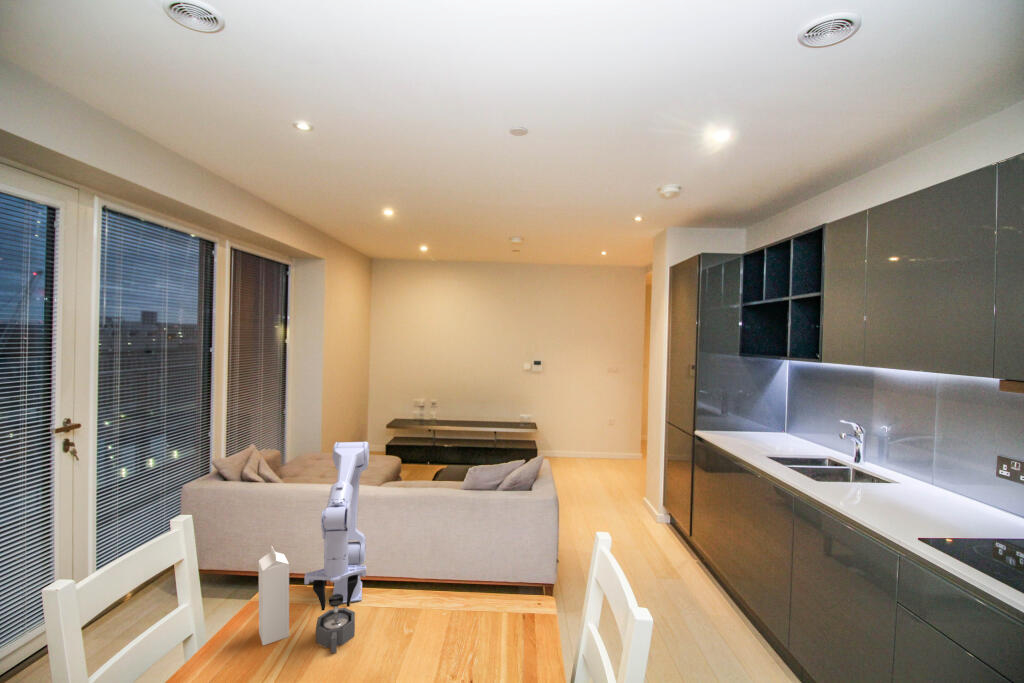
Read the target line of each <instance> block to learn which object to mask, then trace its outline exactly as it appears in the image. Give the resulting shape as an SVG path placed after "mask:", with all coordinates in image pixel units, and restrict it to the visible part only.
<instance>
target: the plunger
mask: <svg viewBox="0 0 1024 683" xmlns="http://www.w3.org/2000/svg"><path fill="white" fill-rule="evenodd" d="M342 604H344V603H343V595H341V594H335V595H333V594H332V595H331V596H330V597H329V598H328V605H329V606H330V607H333V609H334V614H332V615H330V616H328V617H327V618H326V619H325V620H324V622H323V627H324V628H326V629H328V630H330V629H336V628H342V627H343V626H344V625H346V624H347V623H348V616H347V615H346V614H343V613H338V609H339V606H341V605H342Z"/></svg>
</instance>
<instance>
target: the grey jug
mask: <svg viewBox="0 0 1024 683" xmlns="http://www.w3.org/2000/svg"><path fill="white" fill-rule="evenodd" d="M338 613H343V614H346V615H347V616H348V623H347V624H346V625H344V626H343V627H342V628H336V629H330V630H328V629H326V628H324V627H323V622H324V620H325V619H326V618H327V617H328V616H330V615H332V614H334V608H333V609H329V610H327V611H325V612H324V613H322V614H321V615H320V616H318V617H317V619H316V627H315V644H318V645H319V646H322V647H324V648H326V649H327V648H328V649H329V648H330V653H331V654H334V653H337V652H338V647H340V646H344V645H345V644H346V643H347V642H349V641H350V640H351V639H353V638H354V637H355V629H356V624H355V623H356V622H355V621H356V612H355V611H353V610H351V609H348V607H341V608H339V607H338Z"/></svg>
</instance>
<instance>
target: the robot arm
mask: <svg viewBox="0 0 1024 683" xmlns="http://www.w3.org/2000/svg"><path fill="white" fill-rule="evenodd" d="M369 460H370V443H369V442H368V441H352V442H351V441H346V442H344V441H343V442H342V441H340V442H339V441H336V442H335V443H334V445H333V447H332V461H333V464H334V467H335V469H336V470H337V477H336V482H335V483H334V484H333V485H332V486H331V487H330V491H329V496H328V501H327V504H326V508H325V509H323V510H322V512H321V519H320V528H321V534H322V535H321V536H322V539H323V568H321V569H316V570H314V571H310V572H305V574H304V585H309V584H311V583H313V584H312V590H313V592H314V594H316V595H315V596H317V599H318V601H319V604H320V608H321V612H322V611H325V610H326V591H325V590H326V581H330V583H334V584H333V585H334V586H333V592H332V595H335V594H341V595H343V603H342V604H346V608H348V607H350V605H351V603H355V602H360V601H362V599H363V596H362V595H363V581H361V579H362V577H367V565H366V564H365V565H364V563H365V562H366V557H367V543H366V542H367V538H366V535H365V534H364V533H363V532H362V531H361V530H359V529H358V516H359V515H358V514H359V513H358V511H359V499H360V498H359V497H360V496H359V495H360V481H361V475H362V474H363V473H362V472H364V471H366V470H368V467H369ZM360 589H361V590H360Z"/></svg>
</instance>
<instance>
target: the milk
mask: <svg viewBox="0 0 1024 683" xmlns="http://www.w3.org/2000/svg"><path fill="white" fill-rule="evenodd" d="M270 546H271V548H270V550H271V551H269V552H268V553H267V554H266V555H264V556H263V557H261V558H260V559H259V560H258V634H259V638H260V641H261V644H262V646H263V647H264V646H267V645H269V644H271V643H272V644H273V643H275V642H278V641H280V640H284V639H286V638H288V637H290V563H289V561H288V559H287V557H286V556H285V554H284V553H280V552H278V551H276V550H274V547H273V545H270Z"/></svg>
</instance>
